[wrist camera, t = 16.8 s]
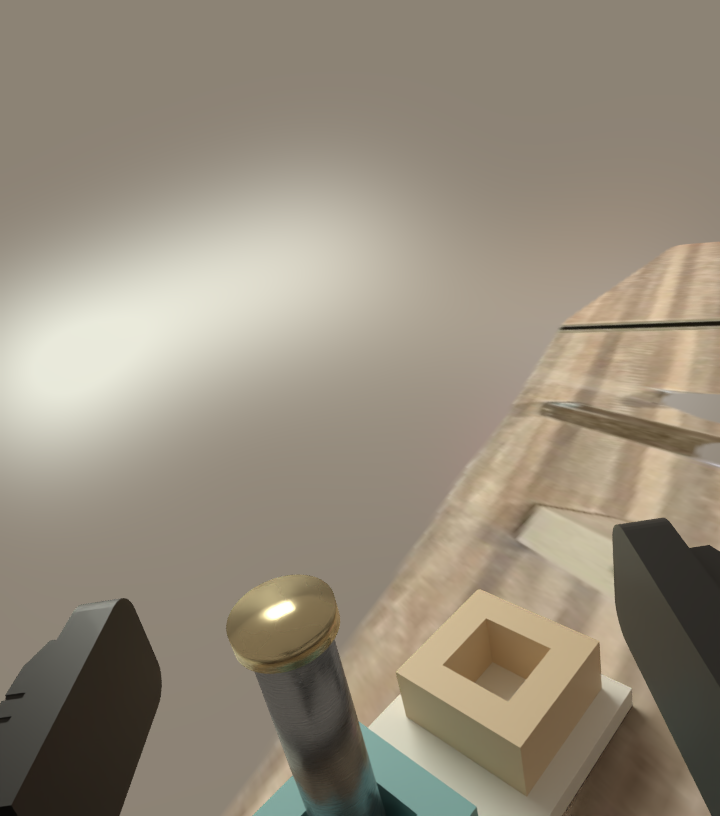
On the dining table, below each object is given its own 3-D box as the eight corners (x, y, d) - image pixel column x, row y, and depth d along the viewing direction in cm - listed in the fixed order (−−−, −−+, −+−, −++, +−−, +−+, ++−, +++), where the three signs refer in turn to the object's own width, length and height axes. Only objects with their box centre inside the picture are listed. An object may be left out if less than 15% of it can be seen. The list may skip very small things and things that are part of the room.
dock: (478, 629, 50) (469, 573, 48) (632, 705, 41) (630, 641, 39) (211, 915, 35) (180, 852, 33) (367, 1122, 27) (340, 1057, 24)
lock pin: (366, 811, 37) (288, 562, 30) (427, 864, 34) (357, 599, 26) (306, 879, 34) (205, 624, 27) (367, 944, 31) (271, 673, 24)
